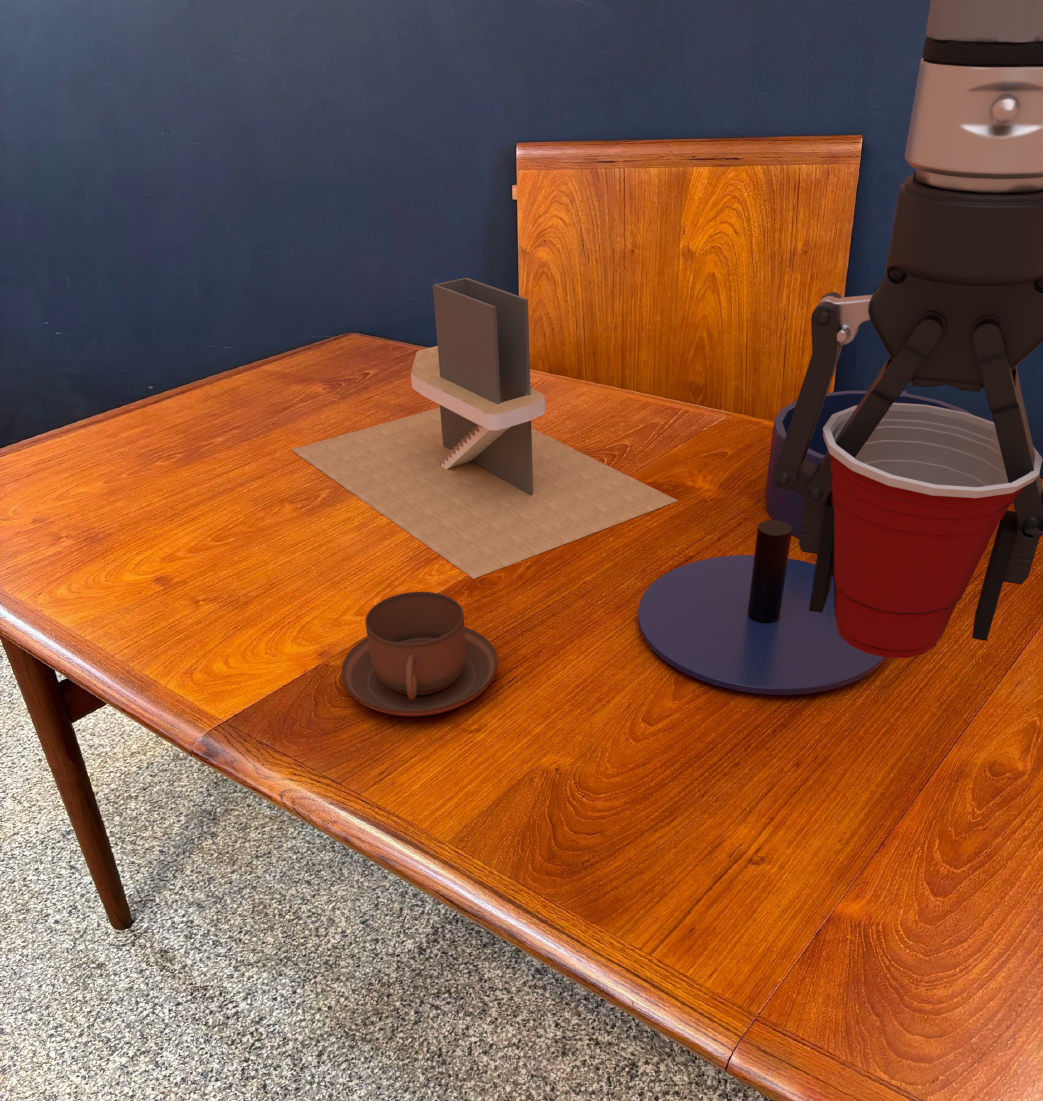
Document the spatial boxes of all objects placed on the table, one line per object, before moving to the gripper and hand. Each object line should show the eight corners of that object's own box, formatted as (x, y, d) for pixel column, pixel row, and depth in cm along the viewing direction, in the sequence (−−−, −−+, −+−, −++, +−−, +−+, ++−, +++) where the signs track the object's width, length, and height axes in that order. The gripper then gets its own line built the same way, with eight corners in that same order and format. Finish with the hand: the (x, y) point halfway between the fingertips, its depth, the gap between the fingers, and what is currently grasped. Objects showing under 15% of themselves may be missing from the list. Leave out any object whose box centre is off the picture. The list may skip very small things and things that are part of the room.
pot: (978, 472, 106) (998, 393, 101) (962, 585, 88) (985, 496, 83) (790, 449, 113) (800, 373, 108) (739, 550, 94) (748, 464, 89)
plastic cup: (999, 698, 53) (1062, 488, 46) (789, 673, 56) (818, 470, 49) (983, 594, 61) (1034, 402, 54) (800, 576, 64) (826, 391, 57)
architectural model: (290, 449, 117) (258, 270, 105) (471, 398, 129) (460, 232, 117) (473, 578, 92) (458, 362, 80) (678, 500, 103) (691, 301, 91)
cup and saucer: (519, 709, 76) (516, 641, 72) (362, 746, 73) (351, 677, 69) (472, 629, 85) (468, 564, 81) (331, 659, 82) (320, 593, 78)
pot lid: (905, 589, 88) (927, 491, 82) (874, 726, 73) (898, 618, 67) (675, 551, 95) (681, 458, 89) (603, 669, 79) (605, 567, 74)
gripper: (735, 182, 45) (702, 614, 59) (1286, 199, 38) (1103, 685, 52) (770, 153, 50) (732, 555, 64) (1257, 164, 43) (1099, 612, 57)
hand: (898, 613), depth 58 cm, fingers closed on plastic cup, 8 cm apart
